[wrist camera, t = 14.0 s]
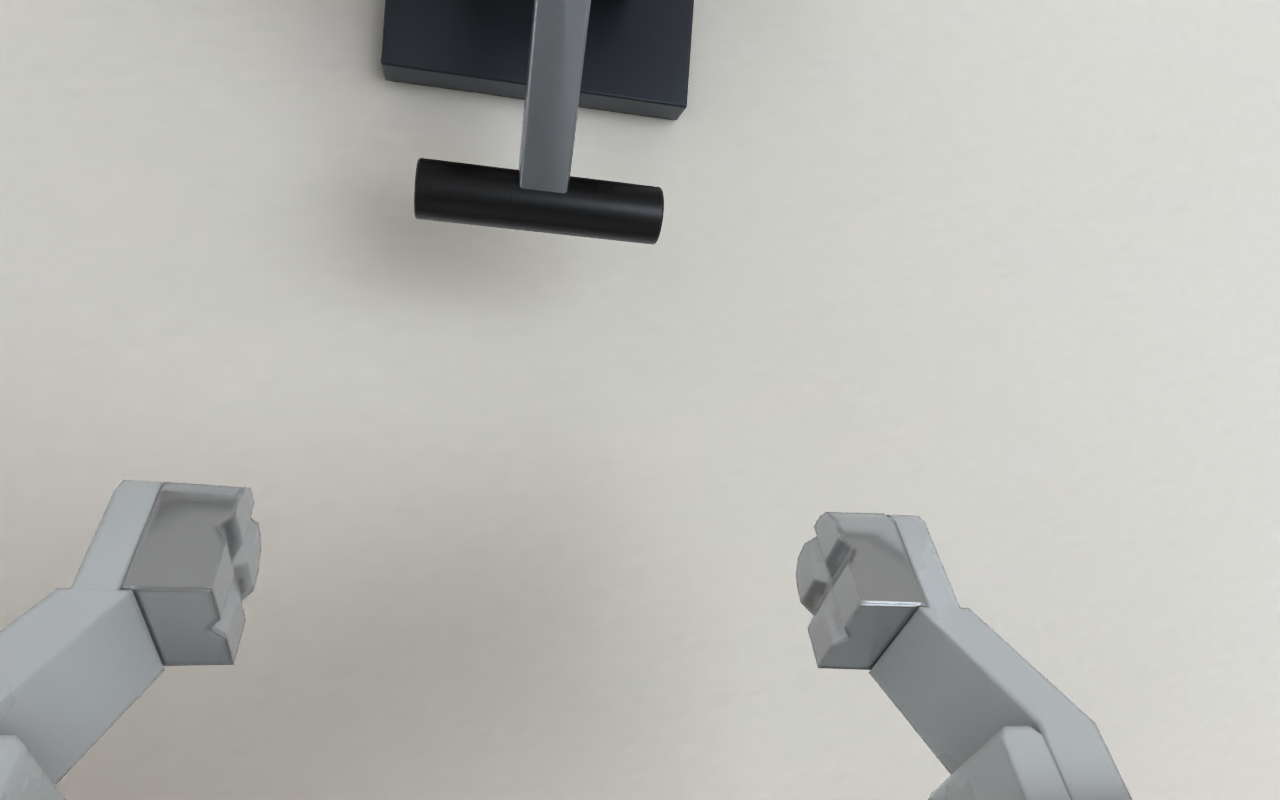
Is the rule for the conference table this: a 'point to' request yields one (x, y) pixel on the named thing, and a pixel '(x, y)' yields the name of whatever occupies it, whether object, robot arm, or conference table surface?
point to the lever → (543, 156)
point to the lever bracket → (500, 39)
